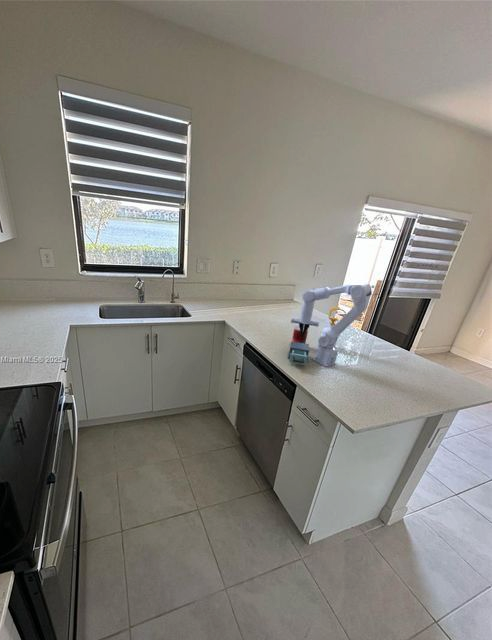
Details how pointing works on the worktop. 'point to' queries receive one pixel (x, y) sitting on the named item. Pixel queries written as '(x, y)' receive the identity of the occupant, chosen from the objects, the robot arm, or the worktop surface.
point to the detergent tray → (298, 357)
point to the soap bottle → (330, 323)
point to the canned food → (299, 335)
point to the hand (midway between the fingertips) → (301, 336)
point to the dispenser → (299, 347)
